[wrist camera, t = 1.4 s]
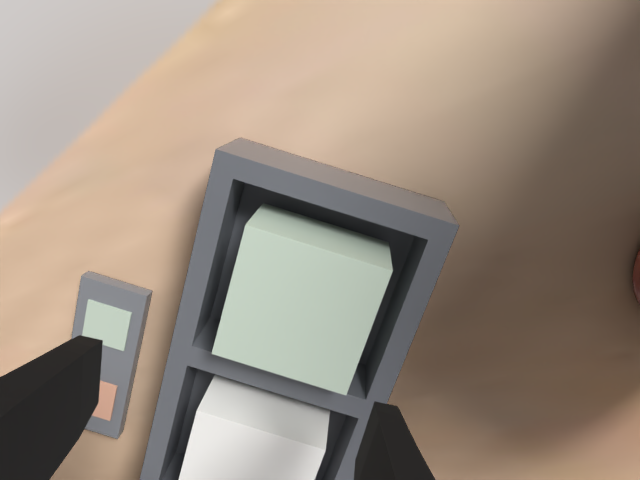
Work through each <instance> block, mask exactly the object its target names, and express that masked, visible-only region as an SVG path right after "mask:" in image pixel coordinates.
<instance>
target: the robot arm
mask: <svg viewBox="0 0 640 480" xmlns="http://www.w3.org/2000/svg"><path fill="white" fill-rule="evenodd" d="M102 345H103V340H99V339H95V338H90V337H86V336H81V335H79V336H77V337H75V338H73V339H71V340H69V341H67V342H65V343H64V344H62V345H60V346H58V347H56V348H54V349H53V350H51V351H49V352H47V353H45V354H43V355H42V356H40V357H38V358H36V359H34V360H32V361H30V362H28V363H27V364H25V365H23V366H21V367H19V368H17V369H15V370H13V371H11V372H9V373H8V374H6V375H4V376H1V377H0V480H49V479H50V478H51V477H52V475H53V474H54V472H55V471H56V470H57V468H58V467H59V466H60V464H61V463H62V461H63V460H64V459H65V457H66V456H67V454H68V453H69V452H70V450H71V449H72V447H73V446H74V445H75V443H76V442H77V440H78V439H79V437H80V436H81V434H82V432H83V430H84V429H85V427H86V425H87V423H88V421H89V420H90V418H91V416H92V414H93V412H94V410H95V408H96V407H97V405H98V403H99V389H100V374H101V360H102ZM354 480H435V478H434V476H433V475H432V473H431V471H430V469H429V467H428V466H427V464H426V462H425V460H424V458H423V456H422V455H421V453H420V451H419V449H418V447H417V445H416V443H415V441H414V439H413V437H412V435H411V433H410V431H409V429H408V427H407V425H406V423H405V420H404V418H403V416H402V414H401V412H400V410H399V408H398V407H397V406H393V405H389V404H385V403H380V402H376V401H374V404H373V407H372V410H371V413H370V416H369V419H368V422H367V425H366V429H365V432H364V435H363V438H362V441H361V444H360V447H359V450H358V453H357V456H356V459H355V470H354Z"/></svg>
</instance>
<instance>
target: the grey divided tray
mask: <svg viewBox="0 0 640 480" xmlns="http://www.w3.org/2000/svg"><path fill="white" fill-rule="evenodd" d="M263 203H265V204H268V205H271V206H274V207H277V208H281V209H284V210H287V211H290V212H293V213H297V214H300V215H303V216H306V217H309V218H313V219H316V220H319V221H322V222H325V223H329V224H332V225H335V226H338V227H341V228H345V229H348V230H351V231H354V232H357V233H361V234H364V235H367V236H370V237H373V238H377V239H380V240H383V241H386V242H389V247H390V254H391V261H392V268H393V272H392V274H391V277H390V280H389V282H388V285H387V288H386V290H385V293H384V296H383V298H382V301H381V304H380V306H379V309H378V312H377V314H376V317H375V320H374V323H373V325H372V328H371V331H370V333H369V336H368V339H367V341H366V344H365V347H364V349H363V352H362V355H361V357H360V360H359V363H358V365H357V368H356V371H355V373H354V376H353V379H352V381H351V384H350V387H349V389H348V392H347V395H343V394H340V393H336V392H333V391H330V390H327V389H323V388H320V387H317V386H314V385H311V384H307V383H304V382H301V381H298V380H294V379H291V378H288V377H285V376H282V375H278V374H275V373H272V372H269V371H265V370H262V369H259V368H256V367H252V366H249V365H246V364H243V363H240V362H236V361H233V360H230V359H227V358H223V357H220V356H217V355H214V354H212V350H213V346H214V343H215V339H216V335H217V331H218V327H219V323H220V320H221V316H222V312H223V308H224V304H225V301H226V297H227V293H228V289H229V285H230V282H231V278H232V274H233V270H234V266H235V262H236V259H237V255H238V251H239V247H240V243H241V240H242V236H243V232H244V228H245V225H246V223H247V222H248V221H249V220H250V218H251V217H252V216H253V215H254V214H255V212H256V211H257V210H258V209H259V208H260V206H261V205H262V204H263ZM458 228H459V224H458V223H457V221H456V219H455V218H454V216H453V215H452V213H451V212H450V210H449V208H448V207H447V205H446V204H445V202H444V201H441V200H437V199H434V198H431V197H428V196H425V195H421V194H418V193H415V192H412V191H409V190H406V189H402V188H399V187H396V186H393V185H390V184H386V183H383V182H380V181H377V180H374V179H371V178H367V177H364V176H361V175H358V174H355V173H351V172H348V171H345V170H342V169H339V168H336V167H332V166H329V165H326V164H323V163H320V162H316V161H313V160H310V159H307V158H304V157H301V156H297V155H294V154H291V153H288V152H285V151H281V150H278V149H275V148H272V147H269V146H266V145H262V144H259V143H256V142H253V141H250V140H246V139H243V138H238V139H236V140H234V141H232V142H230V143H228V144H226V145H223V146H221V147H219V148H217V149H216V150H215V155H214V159H213V163H212V168H211V172H210V176H209V181H208V185H207V189H206V194H205V198H204V202H203V207H202V211H201V215H200V220H199V224H198V228H197V233H196V237H195V241H194V246H193V250H192V254H191V259H190V263H189V267H188V272H187V276H186V281H185V285H184V289H183V294H182V298H181V302H180V307H179V311H178V315H177V320H176V324H175V328H174V333H173V337H172V341H171V346H170V350H169V354H168V359H167V363H166V367H165V372H164V376H163V380H162V385H161V389H160V393H159V398H158V402H157V406H156V411H155V415H154V419H153V424H152V428H151V432H150V437H149V441H148V446H147V450H146V454H145V459H144V463H143V467H142V472H141V476H140V480H179V476H180V472H181V468H182V465H183V461H184V457H185V453H186V449H187V446H188V442H189V438H190V434H191V430H192V426H193V423H194V419H195V415H196V411H197V409H198V407H199V405H200V403H201V401H202V399H203V397H204V395H205V393H206V391H207V389H208V387H209V385H210V383H211V381H212V379H213V377H214V375H215V374H216V375H220V376H223V377H226V378H229V379H233V380H236V381H239V382H242V383H245V384H249V385H252V386H255V387H258V388H262V389H265V390H268V391H271V392H275V393H278V394H281V395H284V396H287V397H291V398H294V399H297V400H300V401H304V402H307V403H310V404H313V405H317V406H320V407H323V408H326V409H329V410H330V416H329V425H328V434H327V444H326V451H325V454H324V456H323V459H322V462H321V464H320V467H319V470H318V472H317V475H316V478H315V480H354V470H355V459H356V456H357V453H358V450H359V447H360V444H361V441H362V438H363V435H364V432H365V429H366V425H367V422H368V419H369V416H370V413H371V410H372V407H373V404H374V401H376V402H380V403H385V404H387V402H388V399H389V397H390V394H391V392H392V390H393V387H394V385H395V382H396V380H397V377H398V375H399V372H400V370H401V368H402V365H403V363H404V360H405V358H406V355H407V353H408V350H409V348H410V345H411V343H412V341H413V338H414V336H415V333H416V331H417V328H418V326H419V323H420V321H421V318H422V316H423V314H424V311H425V309H426V306H427V304H428V301H429V299H430V296H431V294H432V291H433V289H434V287H435V284H436V282H437V279H438V277H439V274H440V272H441V269H442V267H443V264H444V262H445V260H446V257H447V255H448V252H449V250H450V247H451V245H452V242H453V240H454V237H455V235H456V233H457V230H458Z"/></svg>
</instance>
